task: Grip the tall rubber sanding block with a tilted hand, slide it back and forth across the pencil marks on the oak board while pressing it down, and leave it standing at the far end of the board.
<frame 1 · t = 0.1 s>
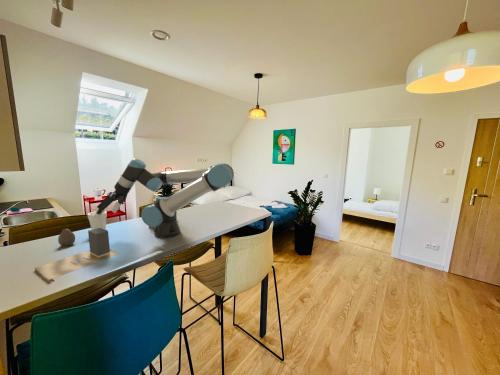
hand: (105, 214, 117), 15 cm above the table, tool tilted 35°, fingers open, 13 cm apart
vase: (67, 245, 113), on the table
foam cup: (99, 233, 131), on the table
sanding block: (100, 253, 102), point 1 cm above the table, touching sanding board
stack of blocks: (162, 223, 152), on the table
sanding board: (80, 262, 95), on the table
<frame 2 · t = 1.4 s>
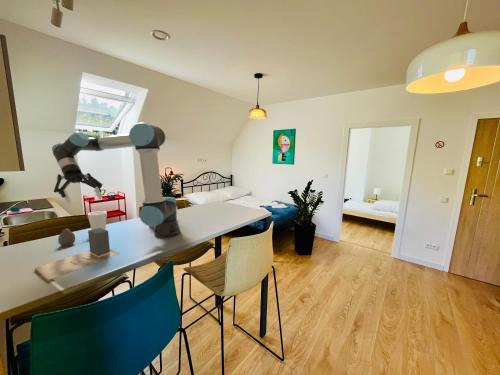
hand: (85, 199, 106), 26 cm above the table, tool tilted 45°, fingers open, 13 cm apart
nothing on the table moved.
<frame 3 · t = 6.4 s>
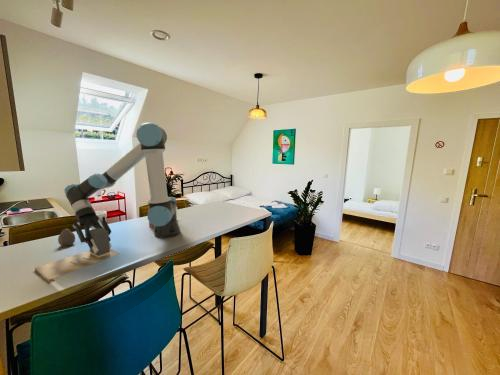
hand: (103, 249, 99), 4 cm above the table, tool tilted 45°, fingers closed on sanding block, 5 cm apart
sanding block: (100, 253, 102), point 1 cm above the table, touching gripper, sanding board
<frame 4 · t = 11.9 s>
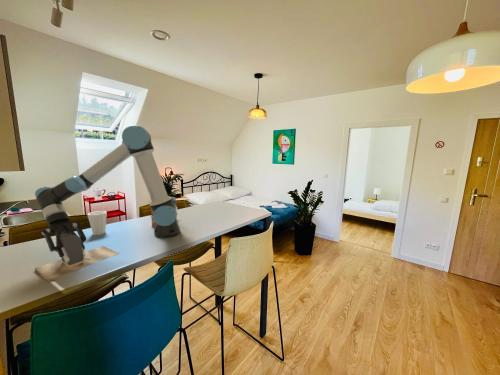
hand: (76, 259, 91), 4 cm above the table, tool tilted 45°, fingers closed on sanding block, 5 cm apart
sanding block: (72, 262, 93), point 1 cm above the table, touching gripper
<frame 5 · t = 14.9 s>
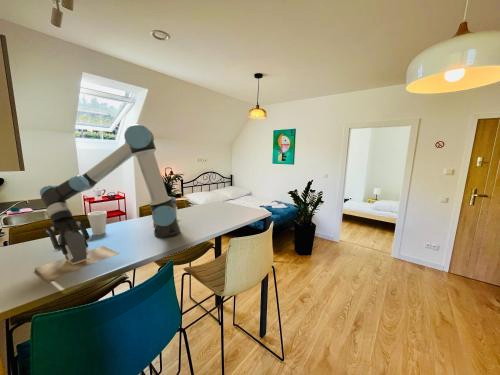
hand: (79, 256, 92), 4 cm above the table, tool tilted 45°, fingers closed on sanding block, 5 cm apart
sanding block: (76, 260, 94), point 2 cm above the table, touching gripper
when the fingers open (4 cm above the table, at t = 17.4 s): sanding block stays where it is, resting on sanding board.
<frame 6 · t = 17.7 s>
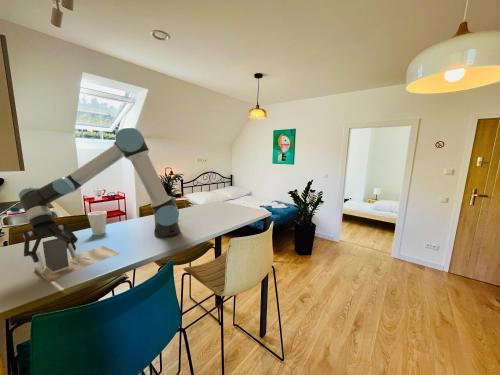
hand: (59, 262, 86), 5 cm above the table, tool tilted 45°, fingers open, 9 cm apart
sanding block: (57, 267, 88), point 1 cm above the table, touching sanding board
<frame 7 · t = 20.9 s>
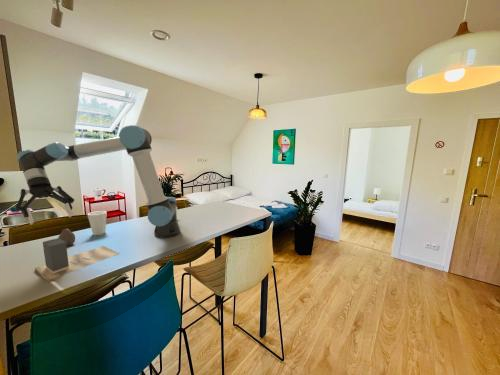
hand: (52, 219, 96), 19 cm above the table, tool tilted 35°, fingers open, 13 cm apart
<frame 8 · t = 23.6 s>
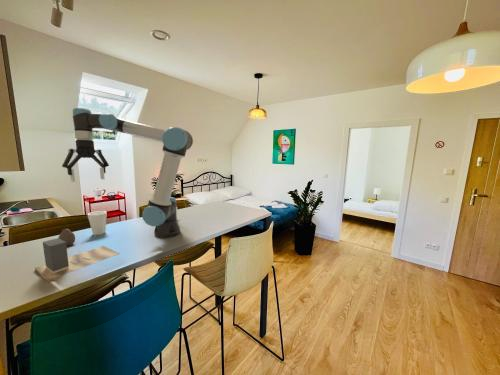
hand: (88, 180, 113), 35 cm above the table, tool pointing down, fingers open, 13 cm apart
at the end: sanding block inside the target area on the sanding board (0.2 cm from its centre), point 1.2 cm above the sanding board's base; sanding block tilted 0°; the gripper is holding nothing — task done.
